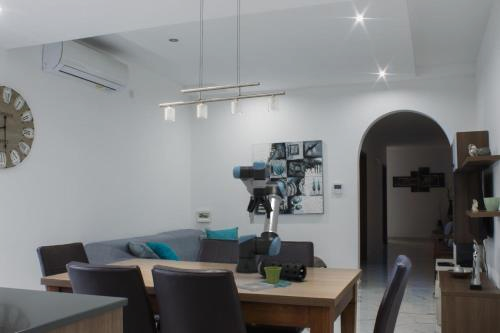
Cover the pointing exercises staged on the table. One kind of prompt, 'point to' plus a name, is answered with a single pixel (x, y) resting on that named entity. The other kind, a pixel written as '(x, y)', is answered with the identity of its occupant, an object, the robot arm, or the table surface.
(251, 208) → the robot arm
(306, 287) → the table surface
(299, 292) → the table surface
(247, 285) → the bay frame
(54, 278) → the table surface
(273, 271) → the plant pot
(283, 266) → the muzzle brake
